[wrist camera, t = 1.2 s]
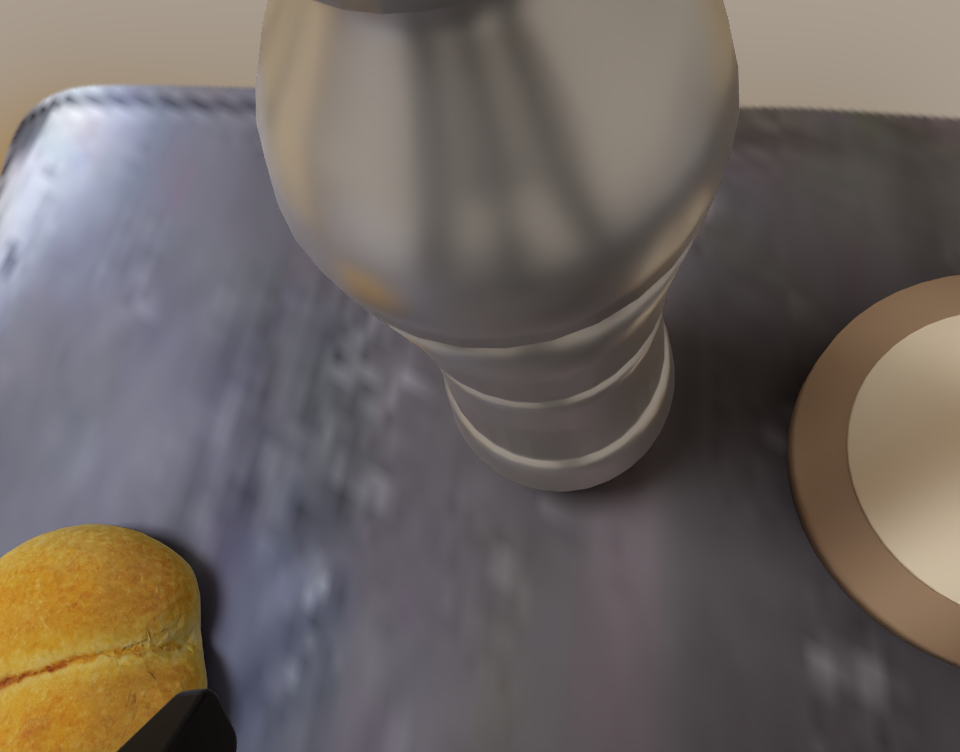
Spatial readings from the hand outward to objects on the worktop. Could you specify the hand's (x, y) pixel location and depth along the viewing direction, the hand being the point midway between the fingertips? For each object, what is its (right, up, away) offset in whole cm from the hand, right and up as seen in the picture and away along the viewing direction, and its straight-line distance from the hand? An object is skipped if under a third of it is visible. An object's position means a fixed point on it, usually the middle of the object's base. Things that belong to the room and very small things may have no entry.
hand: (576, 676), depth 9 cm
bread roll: (-13, -6, +15) cm, 21 cm away
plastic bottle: (+2, +3, +15) cm, 15 cm away
